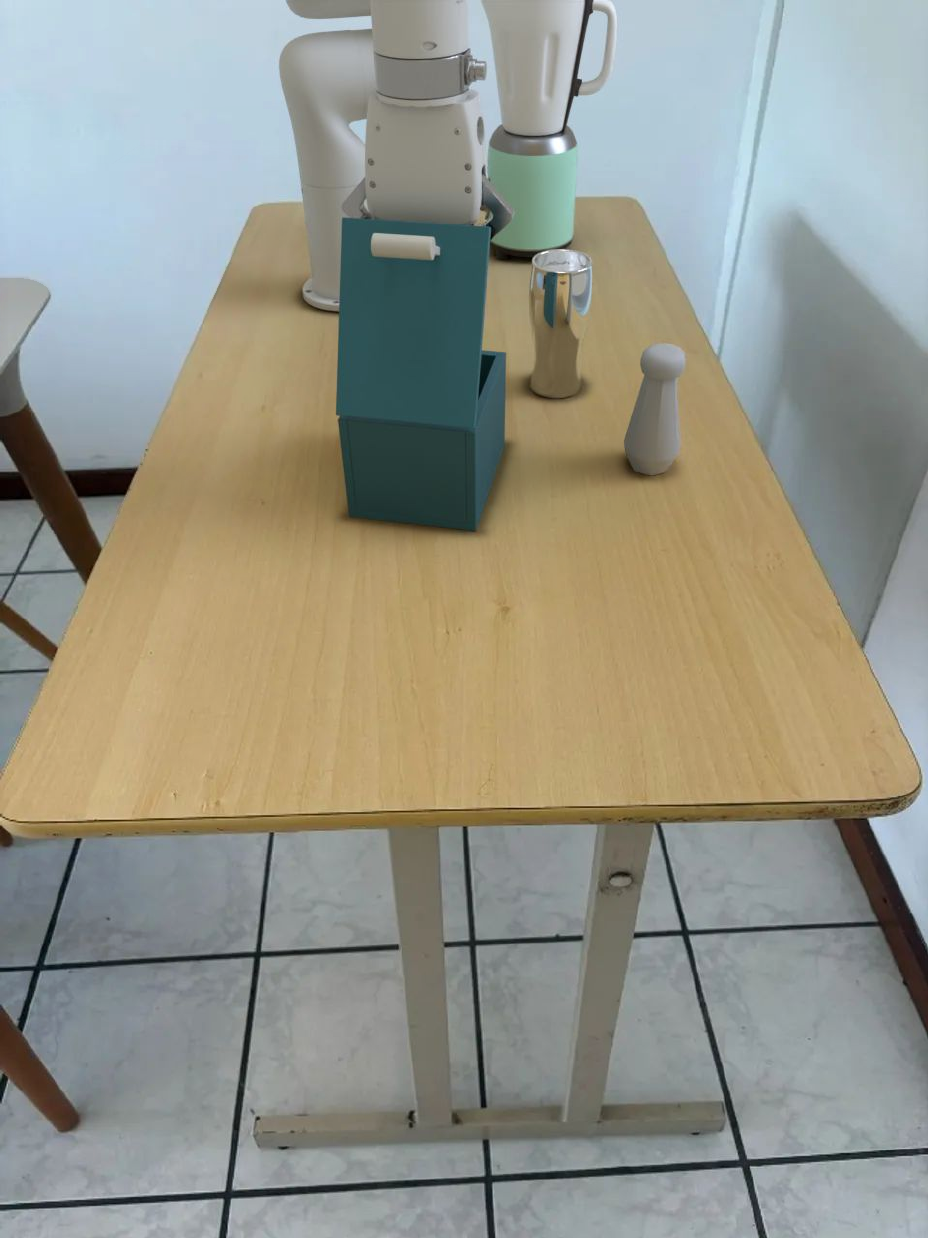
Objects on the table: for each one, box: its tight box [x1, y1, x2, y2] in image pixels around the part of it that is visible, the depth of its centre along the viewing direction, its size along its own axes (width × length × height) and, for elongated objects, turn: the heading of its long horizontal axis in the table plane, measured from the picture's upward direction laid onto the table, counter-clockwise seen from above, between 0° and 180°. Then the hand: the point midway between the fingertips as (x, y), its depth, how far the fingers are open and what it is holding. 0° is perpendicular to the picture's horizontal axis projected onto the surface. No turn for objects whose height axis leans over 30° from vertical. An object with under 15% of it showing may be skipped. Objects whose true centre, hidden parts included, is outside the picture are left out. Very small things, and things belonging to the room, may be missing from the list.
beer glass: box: [528, 248, 594, 399], centre depth 108 cm, size 7×7×15 cm
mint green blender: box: [480, 0, 619, 260], centre depth 134 cm, size 19×13×35 cm
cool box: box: [337, 349, 507, 532], centre depth 95 cm, size 16×13×11 cm
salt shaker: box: [623, 342, 687, 476], centre depth 96 cm, size 6×6×13 cm
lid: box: [335, 217, 491, 429], centre depth 81 cm, size 17×13×5 cm
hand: (430, 291), depth 89 cm, fingers closed on onion, 5 cm apart
